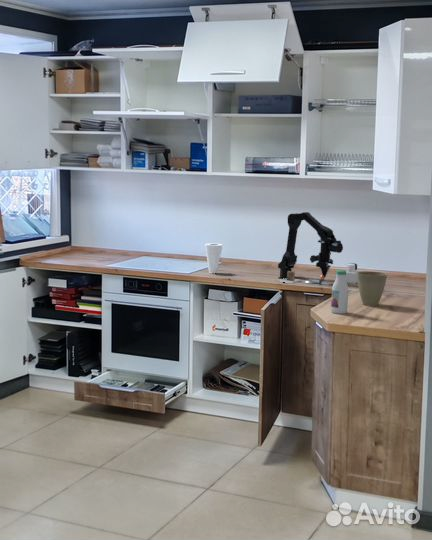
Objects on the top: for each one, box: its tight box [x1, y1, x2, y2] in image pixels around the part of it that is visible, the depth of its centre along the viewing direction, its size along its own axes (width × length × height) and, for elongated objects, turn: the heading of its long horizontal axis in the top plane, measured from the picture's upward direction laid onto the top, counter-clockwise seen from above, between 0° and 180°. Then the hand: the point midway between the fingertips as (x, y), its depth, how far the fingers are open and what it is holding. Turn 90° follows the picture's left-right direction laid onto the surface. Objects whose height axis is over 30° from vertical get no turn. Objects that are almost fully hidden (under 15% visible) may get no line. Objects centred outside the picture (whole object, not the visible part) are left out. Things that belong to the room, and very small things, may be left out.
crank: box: [303, 275, 325, 285], centre depth 447 cm, size 13×9×5 cm
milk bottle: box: [330, 269, 349, 315], centre depth 366 cm, size 8×8×20 cm
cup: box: [204, 243, 223, 274], centre depth 478 cm, size 11×11×18 cm
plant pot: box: [357, 271, 388, 307], centre depth 390 cm, size 15×15×16 cm
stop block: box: [287, 271, 296, 281], centre depth 452 cm, size 4×4×6 cm
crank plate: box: [295, 278, 333, 287], centre depth 448 cm, size 16×14×4 cm
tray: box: [279, 278, 303, 284], centre depth 452 cm, size 9×9×2 cm
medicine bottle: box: [345, 262, 359, 284], centre depth 456 cm, size 7×7×12 cm
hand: (323, 277), depth 447 cm, fingers closed
